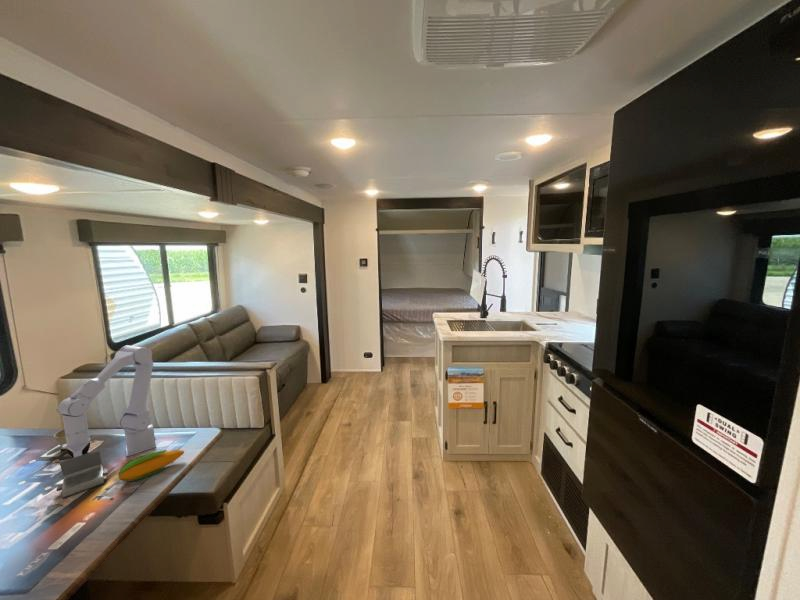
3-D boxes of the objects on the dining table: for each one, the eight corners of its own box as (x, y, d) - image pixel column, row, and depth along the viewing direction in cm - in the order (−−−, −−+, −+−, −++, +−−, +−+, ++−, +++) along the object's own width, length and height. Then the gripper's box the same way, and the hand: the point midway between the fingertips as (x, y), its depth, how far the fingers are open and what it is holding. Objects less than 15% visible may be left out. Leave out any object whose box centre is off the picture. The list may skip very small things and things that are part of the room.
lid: (102, 466, 119) (101, 461, 120) (99, 452, 115) (99, 447, 117) (63, 479, 112) (63, 473, 114) (59, 464, 108) (59, 458, 110)
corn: (115, 460, 115) (180, 437, 129) (118, 478, 117) (182, 453, 131) (118, 472, 110) (185, 446, 125) (121, 490, 112) (187, 463, 126)
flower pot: (87, 436, 142) (84, 421, 141) (92, 444, 136) (90, 429, 135) (54, 447, 134) (51, 431, 133) (59, 456, 128) (56, 440, 127)
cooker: (108, 471, 120) (107, 464, 120) (108, 482, 115) (107, 474, 114) (59, 488, 112) (57, 480, 111) (57, 500, 106) (55, 492, 106)
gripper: (62, 425, 115) (67, 459, 117) (58, 444, 105) (64, 481, 107) (89, 419, 120) (93, 451, 122) (88, 436, 110) (93, 471, 112)
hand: (81, 464), depth 115 cm, fingers closed, pressing on lid
